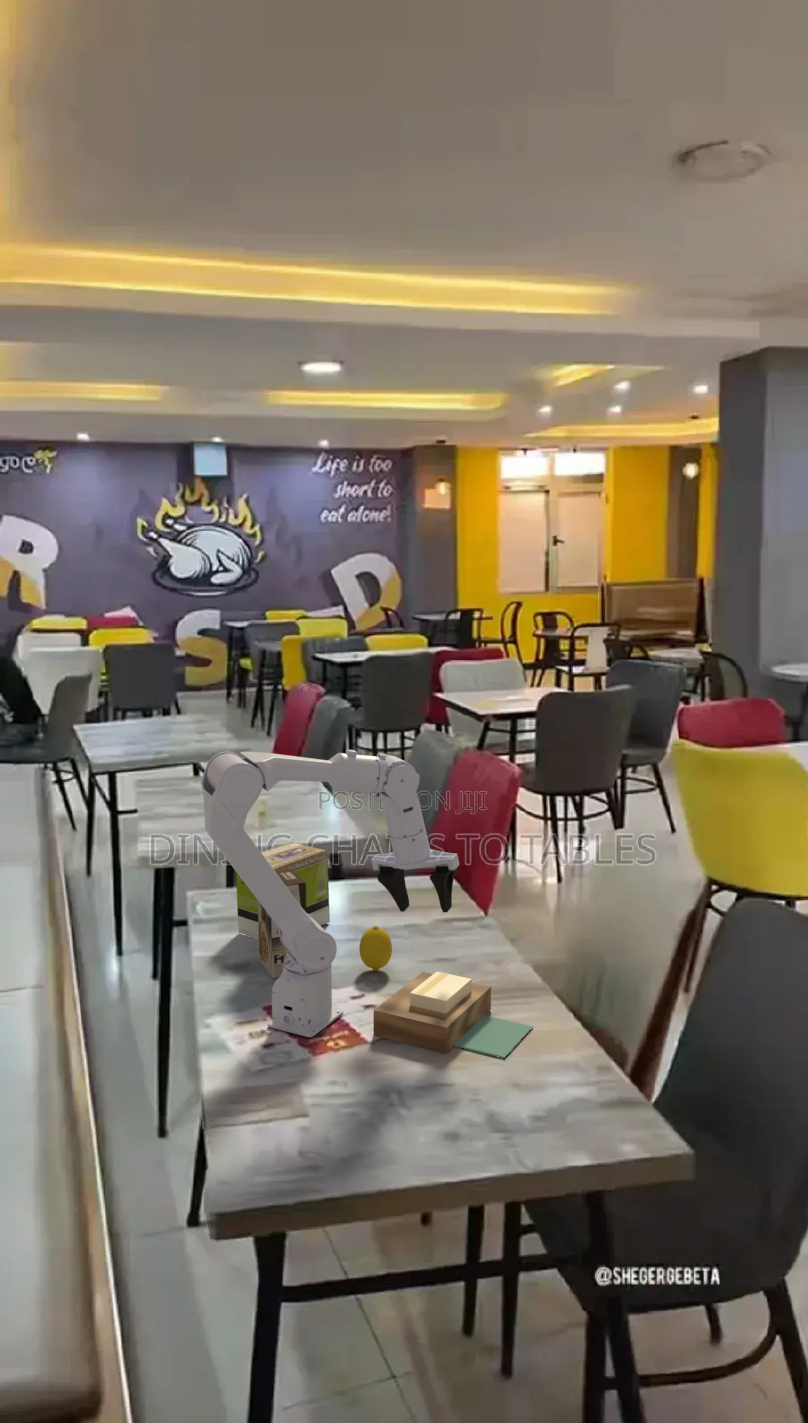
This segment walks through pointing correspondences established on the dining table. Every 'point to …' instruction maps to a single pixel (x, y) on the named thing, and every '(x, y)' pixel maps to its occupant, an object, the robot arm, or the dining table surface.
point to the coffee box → (269, 935)
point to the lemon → (375, 948)
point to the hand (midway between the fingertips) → (426, 908)
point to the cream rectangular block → (440, 992)
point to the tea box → (307, 866)
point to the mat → (493, 1036)
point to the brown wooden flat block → (429, 1018)
